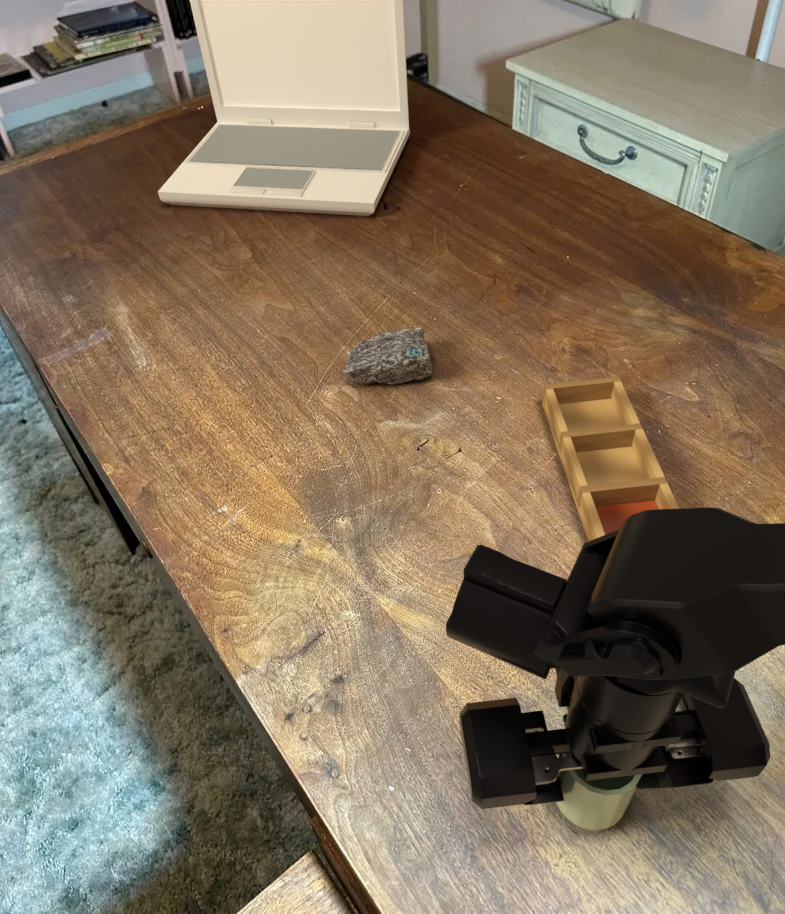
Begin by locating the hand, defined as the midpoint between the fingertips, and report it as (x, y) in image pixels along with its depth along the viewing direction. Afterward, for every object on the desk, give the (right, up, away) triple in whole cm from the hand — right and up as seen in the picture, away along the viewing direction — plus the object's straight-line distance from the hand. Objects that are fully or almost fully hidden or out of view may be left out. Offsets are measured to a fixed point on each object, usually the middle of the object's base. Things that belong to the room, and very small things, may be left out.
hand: (592, 786), depth 55 cm
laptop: (-31, +71, +71) cm, 105 cm away
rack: (+7, +22, +22) cm, 32 cm away
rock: (-14, +34, +35) cm, 51 cm away
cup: (0, -1, +1) cm, 1 cm away
